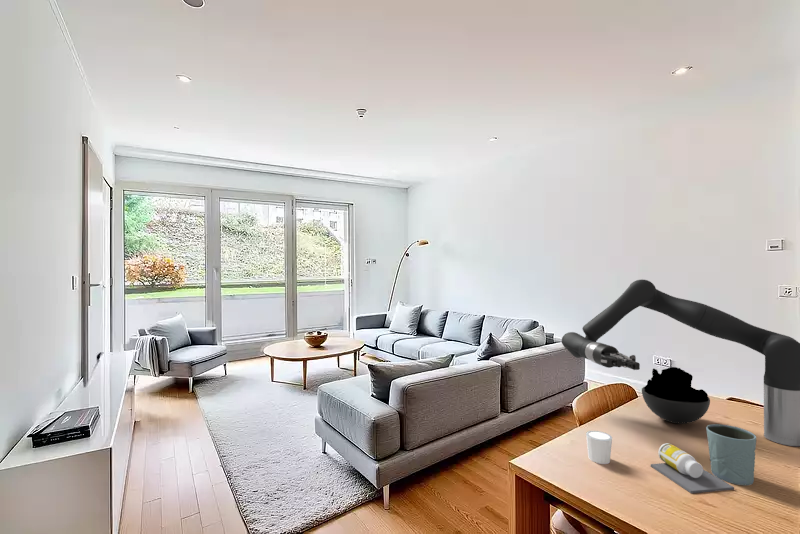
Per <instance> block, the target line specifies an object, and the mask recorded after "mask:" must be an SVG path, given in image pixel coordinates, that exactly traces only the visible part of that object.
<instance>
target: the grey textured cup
mask: <svg viewBox="0 0 800 534" xmlns="http://www.w3.org/2000/svg"><path fill="white" fill-rule="evenodd" d="M705 429H706V435H707V437H706V438H707V442H708V445H707V446H708V453H709V454H708V455H709V461H710V470H711V474H712V475H714V476H716V477H717V478H719V479H721V480H723V481H724V482H726V483H728V484H729V483H730V484H734V485H736V486H737V485H738V486H751V485H753V484H754V482H755V481H754V479H755V467H756V465H755V463H756V449H757V448H756V445H757V436H756V434H754V433H753V432H752V431H749V430H746V429H744V428H741V427H738V426H733V425H729V424H722V423H721V424H719V423H718V424H717V423H715V424H714V423H712V424H708V425H706V427H705Z"/></svg>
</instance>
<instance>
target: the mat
mask: <svg viewBox="0 0 800 534" xmlns="http://www.w3.org/2000/svg"><path fill="white" fill-rule="evenodd" d="M650 467H651V468H653V469H654V470H655V471H657V472H658V473H660V474H661V475H663V476H664V477H666V478H667V479H669V481H672V482H673V483H675V484H676V485H678V486H679V487H681V488H682V489H684V490H685V491H687V492H688V493H690V494H700V493H711V492H721V491H731V490H735V487H734V486H733V485H731V484H729V482H726V481H724V480H721V479H719V478H718V477H716V476H715V475H713V473H711V472H708V471H706V470H705V469H704V468H703V473H702V475H701V476H700V477H698V478H693V477H691V476H690V475H685V474H682V473H680V472H679V471H677V470H676V469H674V468H673V467H671V466H670V465H668V464H667V463H665V462H662V463H660V462H659V463H650Z"/></svg>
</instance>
